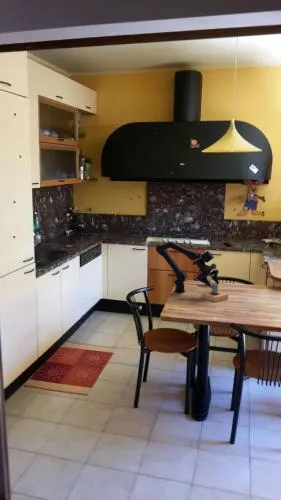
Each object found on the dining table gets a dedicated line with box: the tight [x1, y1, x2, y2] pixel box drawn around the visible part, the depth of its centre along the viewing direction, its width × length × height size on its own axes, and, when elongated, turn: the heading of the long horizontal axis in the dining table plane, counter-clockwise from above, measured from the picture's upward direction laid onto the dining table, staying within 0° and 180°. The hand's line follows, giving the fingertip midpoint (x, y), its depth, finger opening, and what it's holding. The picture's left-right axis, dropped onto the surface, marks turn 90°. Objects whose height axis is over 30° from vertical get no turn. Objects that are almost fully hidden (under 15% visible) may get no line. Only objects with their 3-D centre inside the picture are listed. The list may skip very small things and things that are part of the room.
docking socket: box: [200, 290, 229, 303], centre depth 278 cm, size 13×13×3 cm
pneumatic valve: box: [204, 270, 214, 286], centre depth 310 cm, size 6×12×12 cm, turn 77°
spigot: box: [211, 282, 219, 295], centre depth 278 cm, size 4×4×10 cm
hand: (214, 285), depth 277 cm, fingers open, 9 cm apart
